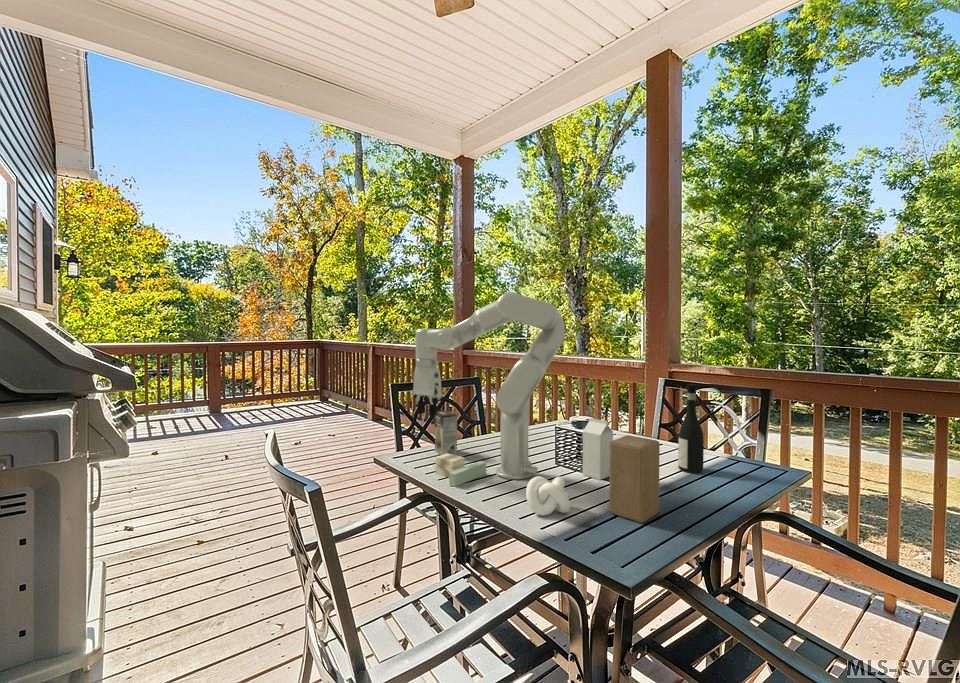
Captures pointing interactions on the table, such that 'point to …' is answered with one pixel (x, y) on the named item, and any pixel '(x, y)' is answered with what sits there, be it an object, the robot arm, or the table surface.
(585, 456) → the milk carton
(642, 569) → the table surface
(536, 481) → the white knot
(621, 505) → the wooden block
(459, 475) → the board
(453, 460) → the birch block
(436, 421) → the coffee box
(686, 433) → the wine bottle
